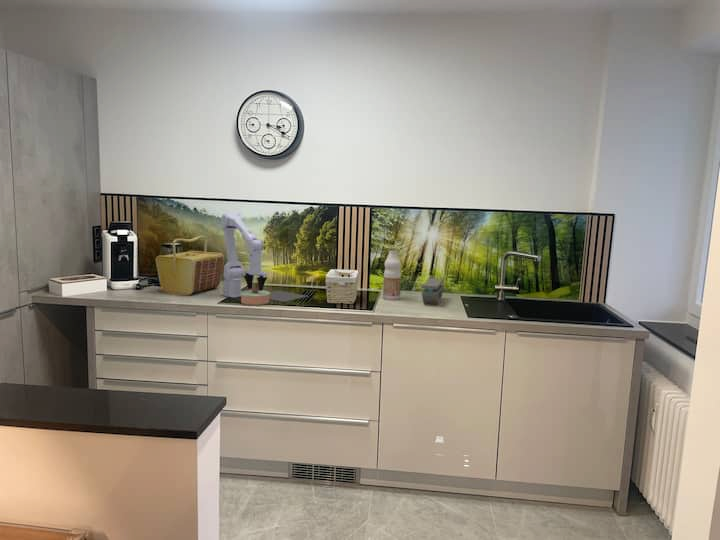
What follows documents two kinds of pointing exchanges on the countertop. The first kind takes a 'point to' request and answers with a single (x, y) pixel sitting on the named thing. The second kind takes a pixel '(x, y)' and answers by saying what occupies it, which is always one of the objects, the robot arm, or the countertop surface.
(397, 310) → the countertop surface
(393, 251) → the fruit juice
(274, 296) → the rubber mat
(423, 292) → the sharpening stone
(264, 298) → the bowl
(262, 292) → the lid
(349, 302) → the storage basket
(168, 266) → the picnic basket
